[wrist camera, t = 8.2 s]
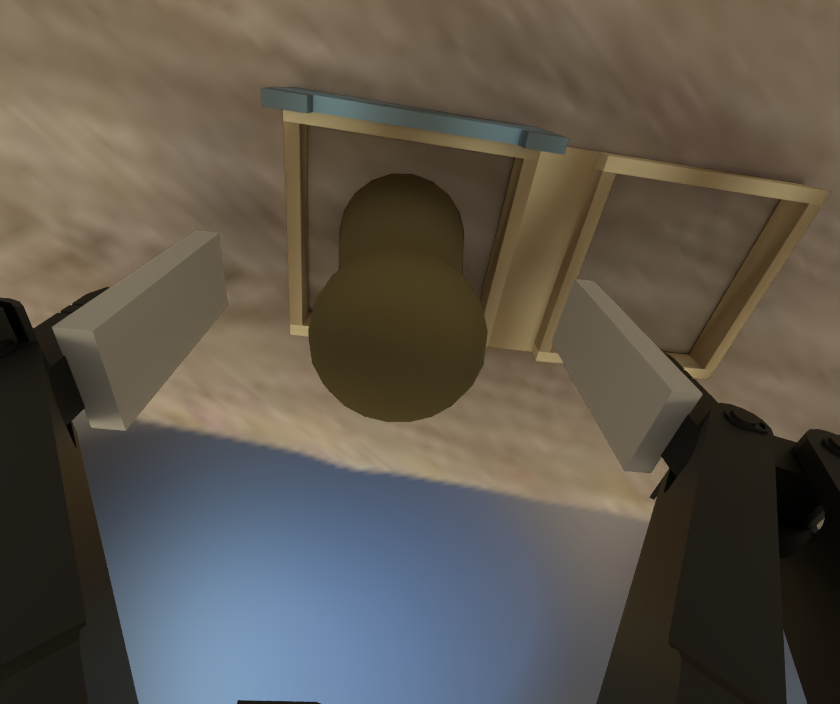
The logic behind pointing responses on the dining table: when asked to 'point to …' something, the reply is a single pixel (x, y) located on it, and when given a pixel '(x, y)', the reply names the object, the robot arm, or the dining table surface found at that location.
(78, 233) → the dining table surface
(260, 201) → the dining table surface
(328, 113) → the caddy
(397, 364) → the cork
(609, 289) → the dining table surface
